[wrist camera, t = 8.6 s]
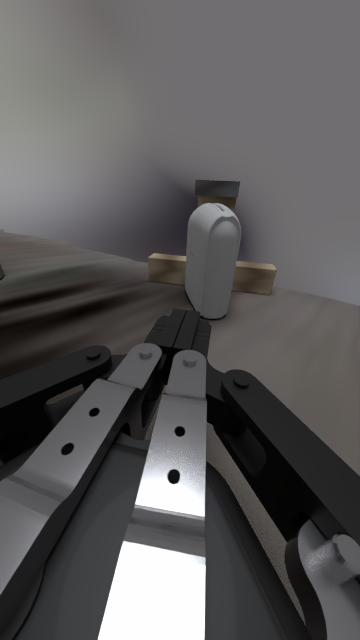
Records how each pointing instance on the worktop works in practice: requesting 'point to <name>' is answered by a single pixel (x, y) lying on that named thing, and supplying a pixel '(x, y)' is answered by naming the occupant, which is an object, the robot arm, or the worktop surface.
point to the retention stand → (246, 273)
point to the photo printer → (211, 258)
